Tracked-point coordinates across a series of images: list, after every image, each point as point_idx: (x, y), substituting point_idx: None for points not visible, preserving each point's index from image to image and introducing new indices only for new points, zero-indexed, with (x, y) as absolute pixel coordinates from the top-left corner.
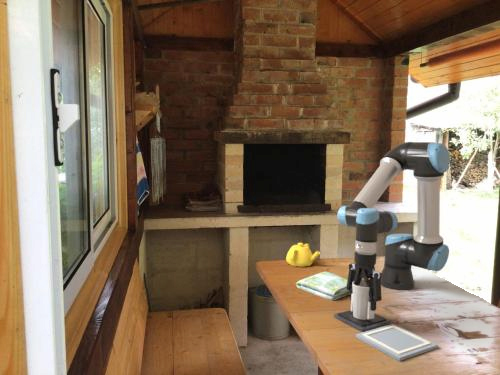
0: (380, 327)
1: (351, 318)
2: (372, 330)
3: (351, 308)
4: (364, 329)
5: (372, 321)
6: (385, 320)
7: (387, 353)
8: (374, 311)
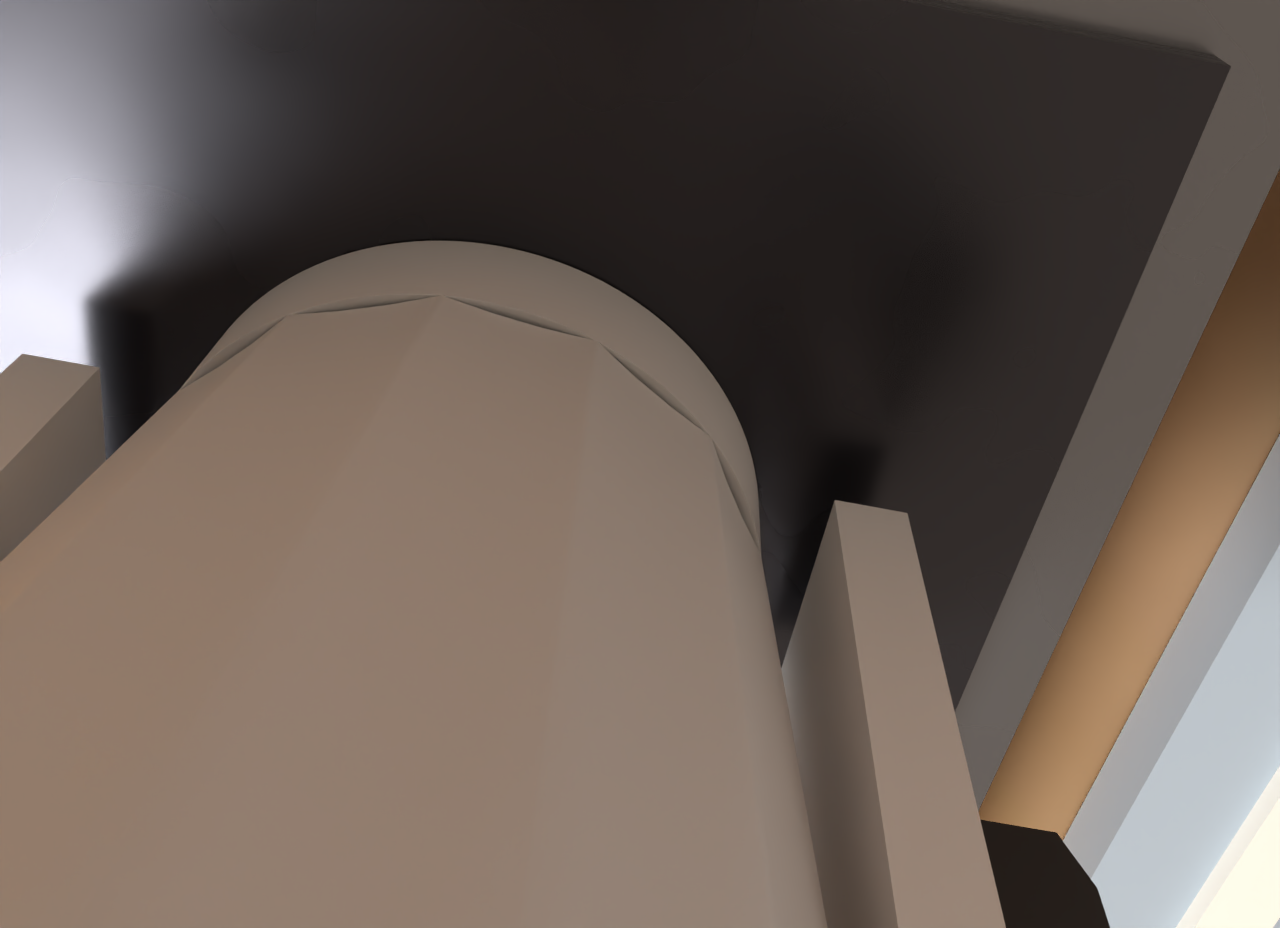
0: (1229, 644)
1: None
2: (1125, 885)
3: None
4: None
5: None
6: (1195, 128)
7: None
8: (942, 671)
